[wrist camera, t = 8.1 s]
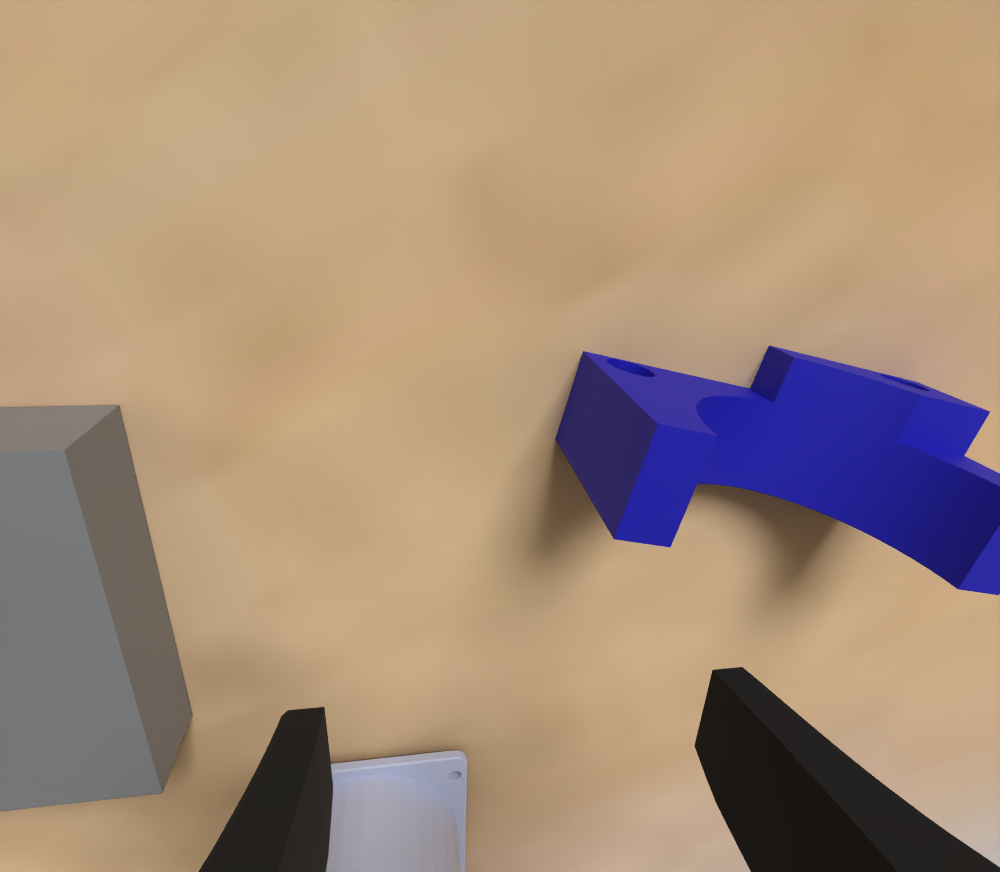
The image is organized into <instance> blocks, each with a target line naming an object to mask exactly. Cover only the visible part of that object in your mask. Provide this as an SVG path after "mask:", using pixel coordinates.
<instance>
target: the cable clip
mask: <svg viewBox="0 0 1000 872" xmlns="http://www.w3.org/2000/svg"><path fill="white" fill-rule="evenodd" d="M989 413H990V411H987V410H985V409H982V408H980V407H977V406H975V405H972V404H970V403H967V402H965V401H962V400H960V399H957V398H955V397H952V396H950V395H947V394H945V393H942V392H940V391H937V390H935V389H933V388H930V387H928V386H925V385H923V384H920V383H918V382H915V381H911V380H907V379H903V378H898V377H894V376H890V375H886V374H882V373H878V372H874V371H870V370H866V369H862V368H858V367H854V366H850V365H846V364H842V363H838V362H834V361H830V360H826V359H822V358H818V357H813V356H809V355H805V354H801V353H797V352H793V351H789V350H785V349H781V348H777V347H773V346H769V347H768V349H767V352H766V354H765V356H764V359H763V361H762V363H761V365H760V368H759V370H758V372H757V375H756V377H755V379H754V382H753V384H752V386H751V388H750V389H749V388H745V387H740V386H736V385H731V384H727V383H723V382H718V381H714V380H709V379H705V378H700V377H696V376H691V375H687V374H682V373H678V372H674V371H669V370H665V369H660V368H656V367H651V366H647V365H642V364H638V363H634V362H629V361H625V360H620V359H616V358H611V357H607V356H602V355H598V354H593V353H589V352H585V351H583V354H582V357H581V360H580V363H579V366H578V370H577V373H576V376H575V379H574V382H573V385H572V389H571V392H570V395H569V398H568V401H567V404H566V407H565V411H564V414H563V417H562V420H561V423H560V426H559V429H558V433H557V436H556V441H557V442H558V444H559V446H560V448H561V449H562V451H563V453H564V454H565V456H566V458H567V460H568V461H569V463H570V465H571V466H572V468H573V470H574V472H575V473H576V475H577V477H578V478H579V480H580V482H581V484H582V485H583V487H584V489H585V490H586V492H587V494H588V496H589V497H590V499H591V501H592V502H593V504H594V506H595V508H596V509H597V511H598V513H599V514H600V516H601V518H602V520H603V521H604V523H605V525H606V526H607V528H608V530H609V532H610V533H611V535H612V537H613V538H614V539H617V540H623V541H630V542H637V543H644V544H651V545H658V546H665V547H671V544H672V542H673V540H674V537H675V535H676V533H677V530H678V528H679V526H680V523H681V521H682V519H683V516H684V514H685V512H686V509H687V507H688V504H689V502H690V500H691V497H692V495H693V493H694V490H695V488H696V486H697V484H718V485H726V486H733V487H738V488H743V489H748V490H752V491H757V492H760V493H764V494H768V495H771V496H775V497H778V498H781V499H785V500H787V501H790V502H793V503H796V504H799V505H802V506H805V507H807V508H810V509H813V510H815V511H818V512H820V513H823V514H825V515H827V516H830V517H832V518H834V519H837V520H839V521H841V522H844V523H846V524H848V525H850V526H852V527H854V528H856V529H858V530H861V531H863V532H865V533H867V534H869V535H871V536H872V537H874V538H876V539H878V540H880V541H882V542H884V543H886V544H888V545H889V546H891V547H893V548H895V549H897V550H898V551H900V552H902V553H904V554H905V555H907V556H909V557H910V558H912V559H914V560H915V561H917V562H918V563H920V564H922V565H923V566H925V567H927V568H928V569H930V570H931V571H933V572H934V573H936V574H937V575H939V576H940V577H942V578H943V579H944V580H946V581H947V582H949V583H950V584H951V585H953V586H954V587H956V588H957V589H960V590H967V591H974V592H981V593H988V594H995V595H999V594H1000V474H999V473H997V472H995V471H993V470H991V469H989V468H987V467H985V466H983V465H981V464H979V463H977V462H975V461H973V460H971V459H969V458H967V457H965V456H964V455H965V453H966V452H967V450H968V448H969V447H970V445H971V443H972V442H973V440H974V438H975V437H976V435H977V433H978V431H979V430H980V428H981V426H982V425H983V423H984V421H985V420H986V418H987V416H988V415H989Z"/></svg>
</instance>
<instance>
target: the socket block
mask: <svg viewBox="0 0 1000 872" xmlns="http://www.w3.org/2000/svg"><path fill="white" fill-rule="evenodd" d="M191 717H192V712H191V707H190V703H189V699H188V695H187V690H186V686H185V682H184V678H183V674H182V669H181V665H180V661H179V657H178V652H177V648H176V644H175V640H174V636H173V631H172V627H171V623H170V619H169V614H168V610H167V606H166V602H165V598H164V593H163V589H162V585H161V581H160V576H159V572H158V568H157V564H156V560H155V555H154V551H153V547H152V543H151V538H150V534H149V530H148V526H147V522H146V517H145V513H144V509H143V505H142V500H141V496H140V492H139V488H138V483H137V479H136V475H135V471H134V467H133V462H132V458H131V454H130V450H129V445H128V441H127V437H126V433H125V429H124V424H123V420H122V416H121V412H120V407H119V405H101V406H47V407H0V811H9V810H18V809H27V808H36V807H45V806H54V805H62V804H71V803H80V802H89V801H98V800H107V799H116V798H125V797H134V796H142V795H151V794H160V793H163V790H164V787H165V785H166V782H167V780H168V777H169V774H170V772H171V769H172V767H173V764H174V761H175V759H176V756H177V754H178V751H179V748H180V746H181V743H182V741H183V738H184V735H185V733H186V730H187V728H188V725H189V722H190V720H191Z"/></svg>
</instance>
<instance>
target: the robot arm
mask: <svg viewBox="0 0 1000 872" xmlns="http://www.w3.org/2000/svg"><path fill="white" fill-rule="evenodd" d="M695 748H696V751H697V754H698V756H699V759H700V762H701V765H702V767H703V770H704V773H705V776H706V778H707V781H708V783H709V786H710V788H711V791H712V793H713V796H714V798H715V801H716V803H717V805H718V807H719V810H720V812H721V814H722V816H723V818H724V820H725V822H726V824H727V826H728V828H729V830H730V831H731V833H732V835H733V837H734V839H735V841H736V843H737V845H738V847H739V849H740V851H741V853H742V855H743V857H744V859H745V861H746V863H747V865H748V867H749V869H750V871H751V872H1000V867H998V866H997V865H995V864H994V863H992V862H991V861H989V860H988V859H987V858H985V857H984V856H982V855H981V854H979V853H978V852H976V851H975V850H973V849H972V848H970V847H969V846H967V845H966V844H965V843H963V842H962V841H960V840H959V839H957V838H956V837H954V836H953V835H951V834H950V833H948V832H947V831H946V830H944V829H943V828H941V827H940V826H939V825H937V824H936V823H934V822H933V821H932V820H930V819H929V818H928V817H926V816H925V815H923V814H922V813H921V812H919V811H918V810H917V809H915V808H914V807H913V806H911V805H910V804H909V803H908V802H906V801H905V800H904V799H902V798H901V797H900V796H898V795H897V794H896V793H894V792H893V791H892V790H890V789H889V788H888V787H886V786H885V785H884V784H882V783H881V782H880V781H879V780H877V779H876V778H875V777H874V776H872V775H871V774H870V773H868V772H867V771H866V770H865V769H863V768H862V767H861V766H860V765H858V764H857V763H856V762H855V761H853V760H852V759H851V758H850V757H849V756H847V755H846V754H845V753H844V752H842V751H841V750H840V749H839V748H838V747H836V746H835V745H834V744H833V743H831V742H830V741H829V740H828V739H827V738H825V737H824V736H823V735H822V734H821V733H820V732H818V731H817V730H816V729H815V728H814V727H812V726H811V725H810V724H809V723H808V722H806V721H805V720H804V719H803V718H802V717H801V716H799V715H798V714H797V713H796V712H795V711H794V710H792V709H791V708H790V707H789V706H788V705H787V704H785V703H784V702H783V701H782V700H781V699H780V698H778V697H777V696H776V695H775V694H774V693H772V692H771V691H770V690H769V689H768V688H767V687H765V686H764V685H763V684H762V683H761V682H760V681H758V680H757V679H756V678H755V677H754V676H752V675H751V674H750V673H749V672H747V671H746V670H745V669H744V668H743V667H738V668H728V669H717V670H712V675H711V679H710V683H709V687H708V692H707V696H706V700H705V704H704V708H703V713H702V717H701V721H700V725H699V729H698V734H697V738H696V742H695ZM466 799H467V758H466V754H464V753H463V752H462V751H459V750H452V751H443V752H434V753H424V754H415V755H406V756H397V757H388V758H379V759H370V760H361V761H352V762H342V763H333V764H331V762H330V753H329V744H328V735H327V727H326V718H325V709H324V707H319V708H308V709H298V710H288V711H287V712H286V713H284V714H283V715H282V716H281V719H280V721H279V723H278V726H277V728H276V730H275V732H274V735H273V737H272V739H271V741H270V743H269V745H268V747H267V750H266V752H265V754H264V756H263V758H262V760H261V762H260V764H259V766H258V768H257V770H256V772H255V773H254V775H253V777H252V779H251V781H250V783H249V785H248V787H247V789H246V791H245V793H244V794H243V796H242V798H241V800H240V802H239V803H238V805H237V807H236V809H235V810H234V812H233V814H232V816H231V818H230V819H229V821H228V823H227V825H226V826H225V828H224V830H223V832H222V834H221V835H220V837H219V839H218V841H217V842H216V844H215V846H214V847H213V849H212V851H211V853H210V854H209V856H208V857H207V859H206V861H205V862H204V864H203V865H202V867H201V869H200V870H199V872H465V849H466Z"/></svg>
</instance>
